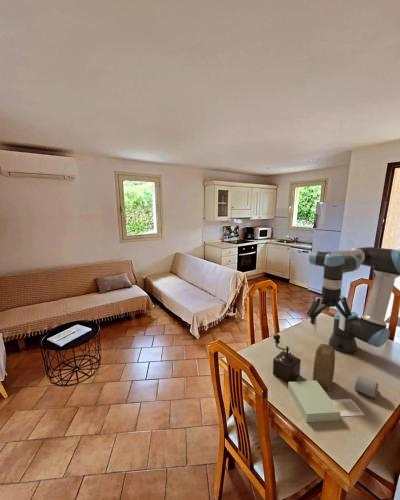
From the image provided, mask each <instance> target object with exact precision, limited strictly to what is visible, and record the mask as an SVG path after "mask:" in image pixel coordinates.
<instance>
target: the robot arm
mask: <svg viewBox="0 0 400 500" xmlns="http://www.w3.org/2000/svg"><path fill="white" fill-rule="evenodd" d="M308 262H309V263H310V264H311V265H315V266H316V267H317V266H318V267H322V268H323V275H322V284H321V285H322V287H321V297H318V296H315V297H314V300H313V302H312V304H311V306H310V308H309V309H308V310H307V313H306V316H308V317H309V318H310V324H311V330H312V331H313V332H315V333H317V325H318V318H317V317H318V316H319V315H320V314H321V313H322V312H323V311H324V310H325V309H326V308H335V307H336V309H337V311H336V312H334V317H333V329H332V334H331V335H330V337H329V340H328V345H330V346H332V347H333V348H334V350H335V351H337V352H339V353H342V354H348V355H353V354H357V352H358V343H357V340H360V341H361V342H364V343H365V344H368V346H369V345H370V346H372V347H375V348H381V347H382V346H384V345H385V344H386V343H387V341H388V339H389V338H390V334H391V332H390V329H388V327H387V326H388V324H387V322H386V321H385V319H386V315H387V311H388V309H389V303H390V299H391V297H392V293H393V288H394V285H395V281H396V279H397V278H399V277H400V250H397V249H395V248H394V249H391V248H383V247H382V248H381V247H376V246H367V247H353V248H351V249H347V250H335V251H334V250H333V251H320V250H313V251H312V250H311V251H310V254H309V256H308ZM361 266H365V267H369V268H370V267H371V268H373V270H372V271H373V272H374V274H375V275H374V279H373V282H372V285H371V291H370V294H369V298H368V302H367V305H366V309H365V313H364V314H363V315H361V316H360V317H359V315H358V313H357V312H355V311H352V310H351V309H350V307H349V305H348V303H347V302H348V301H347V300H348V298H347V297H345V296H344V295H342V289H341V288H342V285H343V276H344V275H343V274H346V273H351V272H355V271H357V270H359V268H360V267H361ZM340 303H341V304H340ZM341 305H342V306H341ZM342 307H343V308H342Z"/></svg>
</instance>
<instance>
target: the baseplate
mask: <svg viewBox="0 0 400 500" xmlns="http://www.w3.org/2000/svg"><path fill="white" fill-rule="evenodd" d="M287 384H288V385H287V391H288V392H289V394H290V396H291V397H292V399H293V401H294V403H295V404H296V406H297V409H298V410H299V412H300V413H301V415H302V417H303V419H304V421H305V423H318V422H320V423H321V422H332V421H333V422H334V421H340V420H341V419H340V418H341V415H340V411H339V410H338V408H337V407H336V406H335V404H334V403H333V402H332V400H333V399H331V398H330V397H329V395H328V393H327V392H326V391H325V389H323V388H322V387H321V386H320V384H319V383H318V382H317V380H315V381H313V380H303V381H302V380H301V381H298V380H296V381H295V382H288V383H287Z"/></svg>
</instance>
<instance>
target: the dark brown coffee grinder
mask: <svg viewBox="0 0 400 500" xmlns="http://www.w3.org/2000/svg"><path fill="white" fill-rule="evenodd" d="M272 338H273V340H274V343H275V347H276V348H277V349H279V350H282V351H281V352H280V353H278V354H277V355H275V357H274V358H273V361H272V362H273V363H272V366H273V367H272V375H273V376H274V377H276V378H278V379H279V380H280V381H283V382H284V383H287V384H288V382H297V381H298V378H299V377H300V376H301V374H300V373H301V363H302V362H301V361H302V360H301V358H299V357H297V356H295V355H294V354H292V352H289V351H290V348H289V347H290V346H288V345H287V346H286V347H285V348H283V347H280V346H279V344H280V343H281V341H280V340H281V335H280V334H278V333H274V334H273V336H272Z"/></svg>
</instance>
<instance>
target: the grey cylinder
mask: <svg viewBox="0 0 400 500" xmlns="http://www.w3.org/2000/svg"><path fill="white" fill-rule="evenodd" d="M378 388H379V383H378V382H377V381H376V380H374V379H373V378H369V377H368V376H365V375H363V374H361V373H357V376H356V379H355V383H354V390H355V391H357V392H360V393H362V394H364V395H365V396H368V397H371V398H373V399H376V398H377V395H378V394H377V393H378Z"/></svg>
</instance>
